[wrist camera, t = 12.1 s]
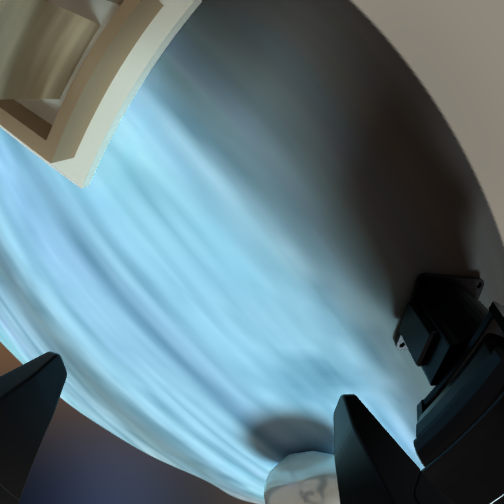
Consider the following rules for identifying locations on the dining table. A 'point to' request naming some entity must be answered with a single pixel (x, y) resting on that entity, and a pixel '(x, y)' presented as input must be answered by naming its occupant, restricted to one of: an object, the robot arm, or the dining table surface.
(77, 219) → the dining table surface
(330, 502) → the potion bottle
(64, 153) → the cleat board
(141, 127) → the dining table surface
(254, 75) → the dining table surface
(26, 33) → the oak cabinet block
